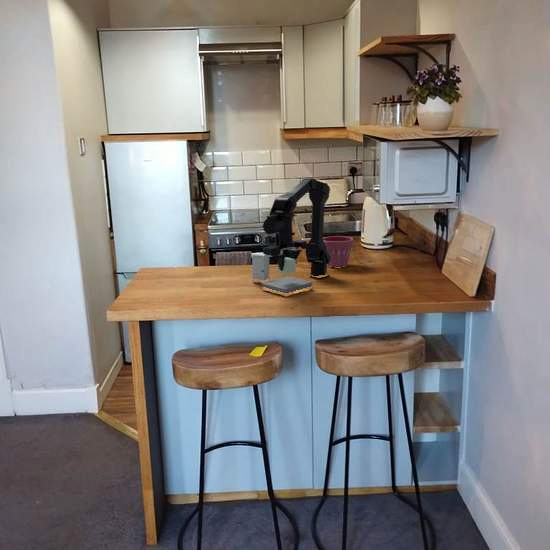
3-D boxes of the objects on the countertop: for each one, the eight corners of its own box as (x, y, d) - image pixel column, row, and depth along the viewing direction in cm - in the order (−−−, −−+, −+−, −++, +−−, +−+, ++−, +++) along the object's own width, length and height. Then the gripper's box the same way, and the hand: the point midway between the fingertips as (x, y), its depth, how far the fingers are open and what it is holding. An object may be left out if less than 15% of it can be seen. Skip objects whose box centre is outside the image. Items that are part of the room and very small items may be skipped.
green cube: (287, 269, 229) (286, 257, 228) (295, 271, 226) (295, 259, 224) (277, 272, 226) (277, 259, 225) (286, 274, 223) (285, 261, 221)
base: (288, 283, 237) (288, 276, 237) (312, 289, 227) (312, 282, 226) (262, 290, 228) (261, 283, 228) (286, 297, 218) (285, 289, 217)
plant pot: (352, 262, 269) (352, 235, 266) (353, 269, 256) (353, 241, 252) (322, 262, 271) (321, 236, 267) (321, 270, 257) (320, 241, 254)
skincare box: (252, 282, 240) (250, 254, 237) (258, 280, 244) (256, 252, 241) (265, 284, 237) (263, 255, 234) (270, 281, 241) (269, 253, 238)
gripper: (288, 224, 234) (290, 262, 238) (253, 231, 222) (255, 270, 226) (308, 227, 225) (309, 266, 229) (272, 234, 214) (273, 275, 218)
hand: (286, 269), depth 226 cm, fingers closed on green cube, 5 cm apart
